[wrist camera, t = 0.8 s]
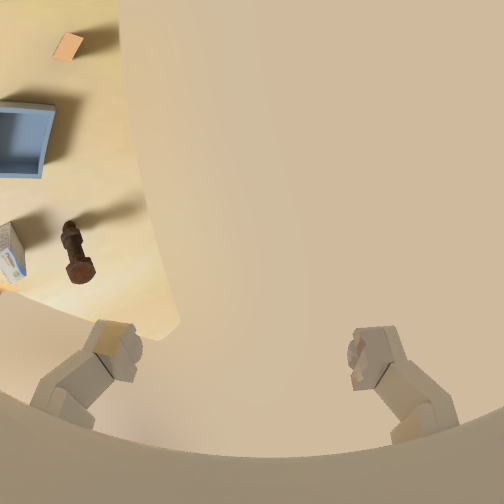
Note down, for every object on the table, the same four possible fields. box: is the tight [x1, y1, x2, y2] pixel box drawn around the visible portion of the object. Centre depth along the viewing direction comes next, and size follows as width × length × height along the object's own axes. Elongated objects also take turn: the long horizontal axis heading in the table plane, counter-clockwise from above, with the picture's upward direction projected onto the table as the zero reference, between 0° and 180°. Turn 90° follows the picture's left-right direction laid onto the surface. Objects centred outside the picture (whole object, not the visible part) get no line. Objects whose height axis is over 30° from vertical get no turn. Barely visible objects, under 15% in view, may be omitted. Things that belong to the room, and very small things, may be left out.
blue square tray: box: [0, 101, 56, 179], centre depth 31 cm, size 12×12×6 cm
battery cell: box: [52, 32, 84, 63], centre depth 26 cm, size 3×4×9 cm
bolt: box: [61, 221, 96, 284], centre depth 47 cm, size 6×5×15 cm
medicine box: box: [0, 222, 26, 283], centre depth 40 cm, size 8×4×9 cm, turn 174°
